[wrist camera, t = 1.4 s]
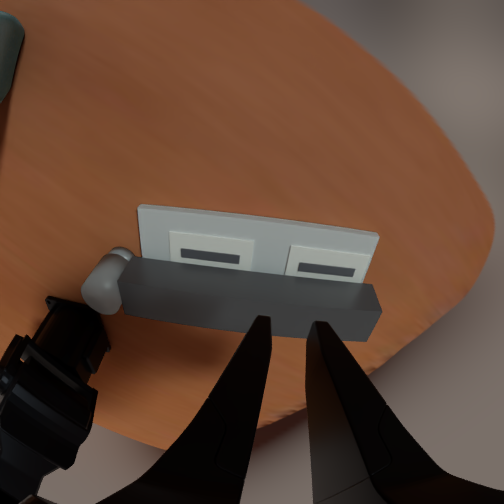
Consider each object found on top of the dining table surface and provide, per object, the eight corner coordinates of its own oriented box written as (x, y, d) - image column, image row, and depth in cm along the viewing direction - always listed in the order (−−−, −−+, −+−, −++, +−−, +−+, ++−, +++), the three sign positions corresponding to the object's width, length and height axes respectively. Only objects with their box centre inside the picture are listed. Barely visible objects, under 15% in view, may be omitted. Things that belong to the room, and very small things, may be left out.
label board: (119, 304, 25) (115, 311, 24) (99, 200, 19) (93, 206, 18) (337, 332, 25) (339, 340, 24) (376, 232, 19) (380, 239, 18)
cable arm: (104, 282, 22) (86, 310, 19) (96, 251, 20) (76, 277, 17) (359, 314, 22) (367, 346, 19) (372, 284, 20) (383, 316, 17)
